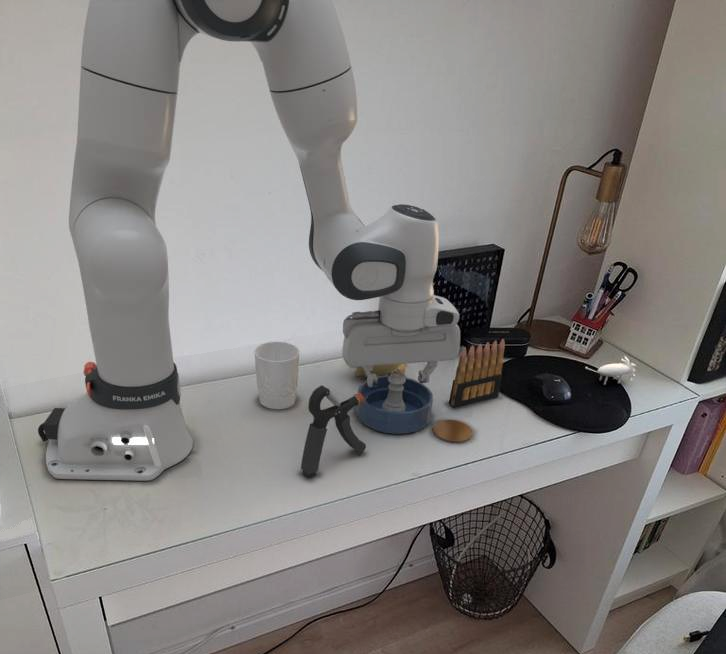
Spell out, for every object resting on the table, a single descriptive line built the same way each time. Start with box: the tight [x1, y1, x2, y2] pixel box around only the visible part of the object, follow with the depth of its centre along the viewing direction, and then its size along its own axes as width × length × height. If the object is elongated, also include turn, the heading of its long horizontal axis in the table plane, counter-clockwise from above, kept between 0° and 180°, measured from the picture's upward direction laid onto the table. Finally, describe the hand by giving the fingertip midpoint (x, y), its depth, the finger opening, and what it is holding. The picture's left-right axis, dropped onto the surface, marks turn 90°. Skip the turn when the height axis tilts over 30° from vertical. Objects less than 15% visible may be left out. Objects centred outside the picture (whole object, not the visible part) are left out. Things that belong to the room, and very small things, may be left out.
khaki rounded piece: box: [355, 363, 408, 378], centre depth 134 cm, size 10×12×11 cm
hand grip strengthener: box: [300, 384, 367, 479], centre depth 107 cm, size 2×12×15 cm, turn 131°
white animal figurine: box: [584, 355, 638, 386], centre depth 139 cm, size 12×5×5 cm, turn 106°
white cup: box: [253, 341, 300, 410], centre depth 123 cm, size 8×8×10 cm
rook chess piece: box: [382, 371, 406, 412], centre depth 122 cm, size 4×4×8 cm
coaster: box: [432, 419, 473, 444], centre depth 122 cm, size 7×7×1 cm
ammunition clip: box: [448, 338, 506, 409], centre depth 128 cm, size 11×2×12 cm, turn 120°
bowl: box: [356, 376, 434, 435], centre depth 124 cm, size 13×13×4 cm
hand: (397, 383), depth 121 cm, fingers open, 8 cm apart
